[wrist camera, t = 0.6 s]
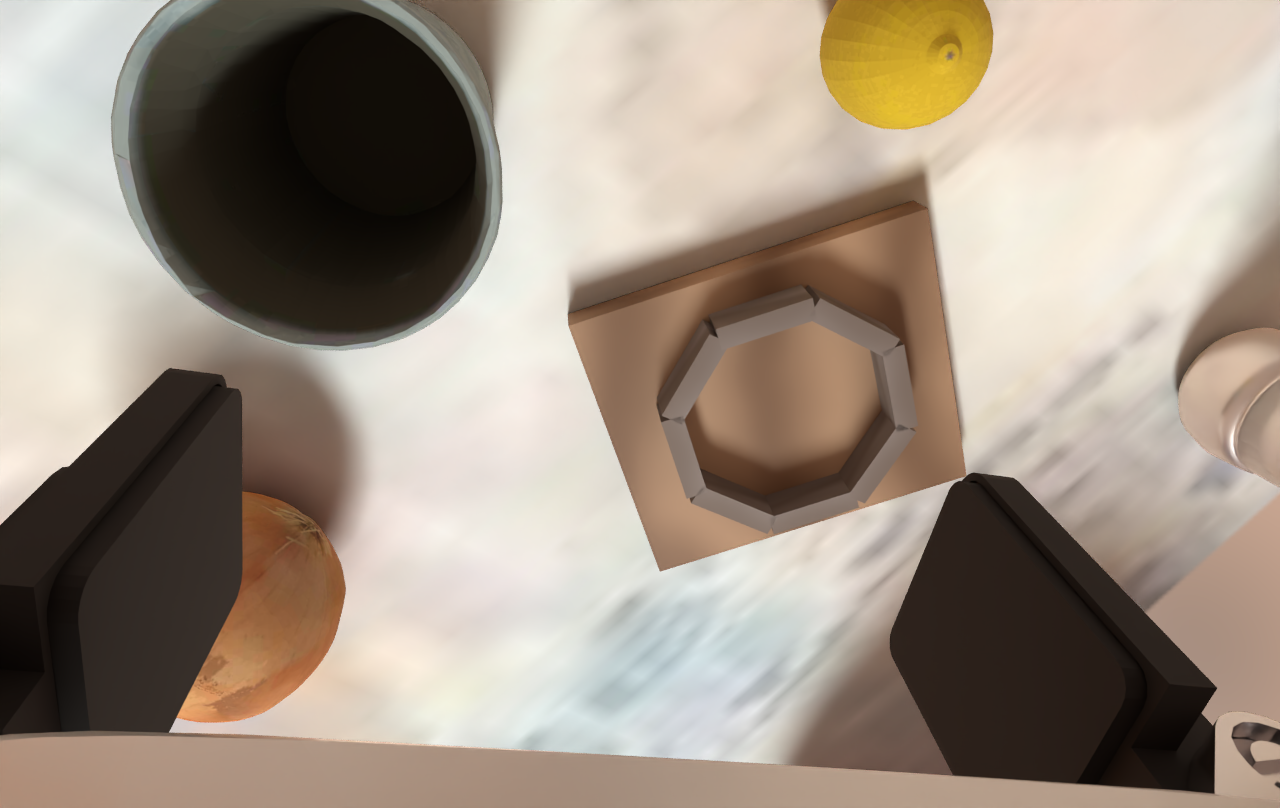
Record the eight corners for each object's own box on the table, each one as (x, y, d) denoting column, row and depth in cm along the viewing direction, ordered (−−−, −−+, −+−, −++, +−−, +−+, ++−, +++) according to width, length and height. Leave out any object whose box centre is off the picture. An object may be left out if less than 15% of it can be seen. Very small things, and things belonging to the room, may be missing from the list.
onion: (112, 554, 40) (-11, 714, 31) (221, 411, 38) (120, 540, 29) (291, 646, 44) (226, 813, 35) (402, 521, 41) (362, 667, 32)
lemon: (808, 130, 35) (876, 165, 28) (785, -13, 32) (853, -15, 25) (937, 93, 35) (1038, 119, 28) (924, -54, 32) (1031, -67, 25)
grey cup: (371, -91, 30) (274, -137, 19) (570, 124, 34) (581, 185, 23) (197, 113, 32) (24, 172, 22) (402, 292, 36) (342, 418, 25)
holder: (913, 200, 37) (945, 218, 34) (953, 460, 43) (983, 495, 40) (567, 313, 37) (569, 341, 34) (656, 553, 44) (664, 594, 41)
